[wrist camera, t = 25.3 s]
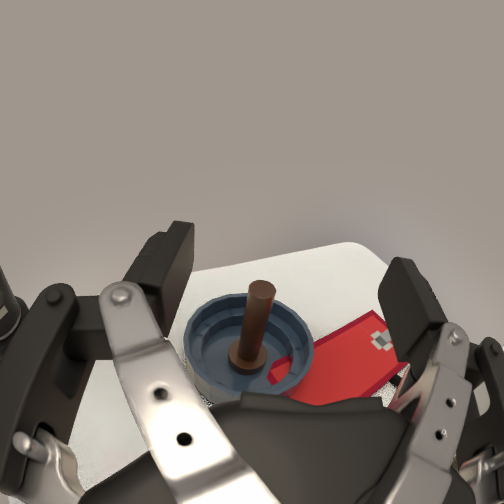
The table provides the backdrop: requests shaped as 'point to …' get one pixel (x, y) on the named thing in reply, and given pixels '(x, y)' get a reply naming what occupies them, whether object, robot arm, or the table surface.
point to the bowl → (229, 330)
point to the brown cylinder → (253, 330)
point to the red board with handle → (346, 363)
